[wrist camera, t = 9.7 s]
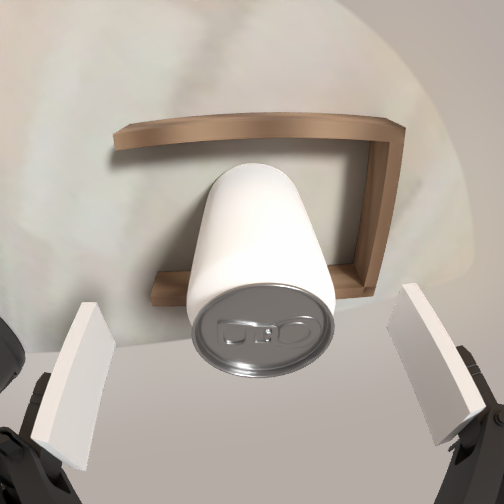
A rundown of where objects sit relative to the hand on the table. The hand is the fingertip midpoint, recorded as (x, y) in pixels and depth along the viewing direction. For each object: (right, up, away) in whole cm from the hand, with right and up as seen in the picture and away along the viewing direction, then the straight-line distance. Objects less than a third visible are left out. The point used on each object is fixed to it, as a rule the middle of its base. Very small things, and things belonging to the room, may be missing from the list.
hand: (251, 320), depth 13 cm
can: (0, +6, +9) cm, 11 cm away
